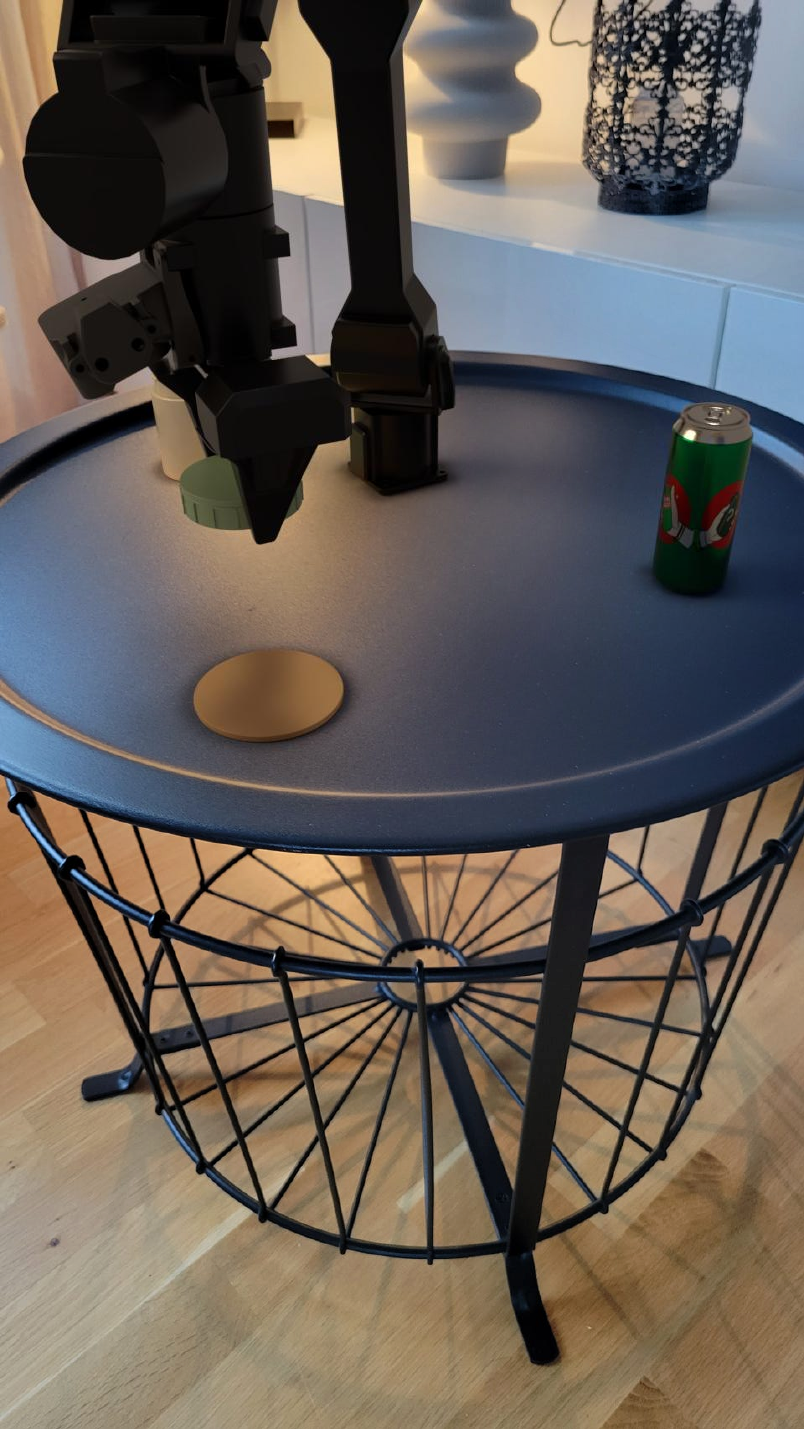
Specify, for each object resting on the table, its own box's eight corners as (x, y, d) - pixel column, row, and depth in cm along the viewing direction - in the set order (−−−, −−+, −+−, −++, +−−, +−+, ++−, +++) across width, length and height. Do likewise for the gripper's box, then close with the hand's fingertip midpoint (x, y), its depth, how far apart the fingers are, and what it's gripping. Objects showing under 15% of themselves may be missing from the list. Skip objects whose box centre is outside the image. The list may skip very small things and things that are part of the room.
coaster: (305, 640, 69) (305, 635, 68) (369, 712, 62) (369, 706, 62) (173, 680, 65) (172, 675, 65) (227, 760, 59) (226, 755, 59)
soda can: (727, 568, 75) (759, 404, 68) (720, 603, 71) (753, 433, 64) (656, 558, 77) (680, 396, 69) (645, 591, 73) (669, 424, 66)
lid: (188, 537, 54) (183, 508, 53) (178, 486, 59) (174, 458, 58) (312, 522, 55) (310, 493, 54) (292, 472, 60) (290, 445, 59)
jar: (219, 448, 94) (207, 353, 89) (244, 472, 90) (233, 374, 85) (154, 462, 92) (138, 366, 86) (177, 488, 87) (161, 388, 82)
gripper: (3, 186, 52) (67, 478, 62) (67, 275, 39) (137, 633, 48) (219, 166, 56) (249, 445, 65) (348, 241, 42) (363, 581, 52)
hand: (246, 516), depth 58 cm, fingers closed on lid, 6 cm apart
